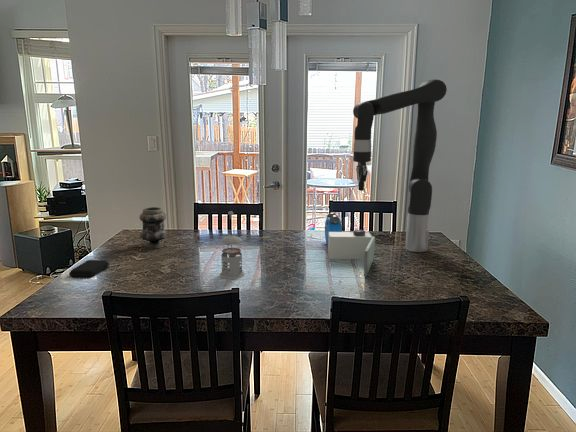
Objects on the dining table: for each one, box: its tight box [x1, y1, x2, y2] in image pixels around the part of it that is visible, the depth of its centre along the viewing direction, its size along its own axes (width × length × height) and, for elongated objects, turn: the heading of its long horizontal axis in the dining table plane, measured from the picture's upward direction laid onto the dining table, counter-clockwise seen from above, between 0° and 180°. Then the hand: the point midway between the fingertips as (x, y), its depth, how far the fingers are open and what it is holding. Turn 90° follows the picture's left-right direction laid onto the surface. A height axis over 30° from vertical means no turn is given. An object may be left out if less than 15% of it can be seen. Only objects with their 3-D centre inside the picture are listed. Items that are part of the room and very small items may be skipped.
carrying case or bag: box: [69, 259, 110, 279], centre depth 166 cm, size 11×3×15 cm
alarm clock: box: [324, 211, 343, 246], centre depth 202 cm, size 13×6×15 cm, turn 5°
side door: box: [363, 235, 376, 277], centre depth 170 cm, size 22×1×10 cm, turn 162°
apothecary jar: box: [139, 206, 168, 250], centre depth 198 cm, size 12×12×18 cm
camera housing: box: [327, 229, 373, 261], centre depth 185 cm, size 18×8×12 cm, turn 88°
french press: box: [219, 210, 246, 280], centre depth 162 cm, size 10×12×25 cm
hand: (361, 190), depth 186 cm, fingers closed
